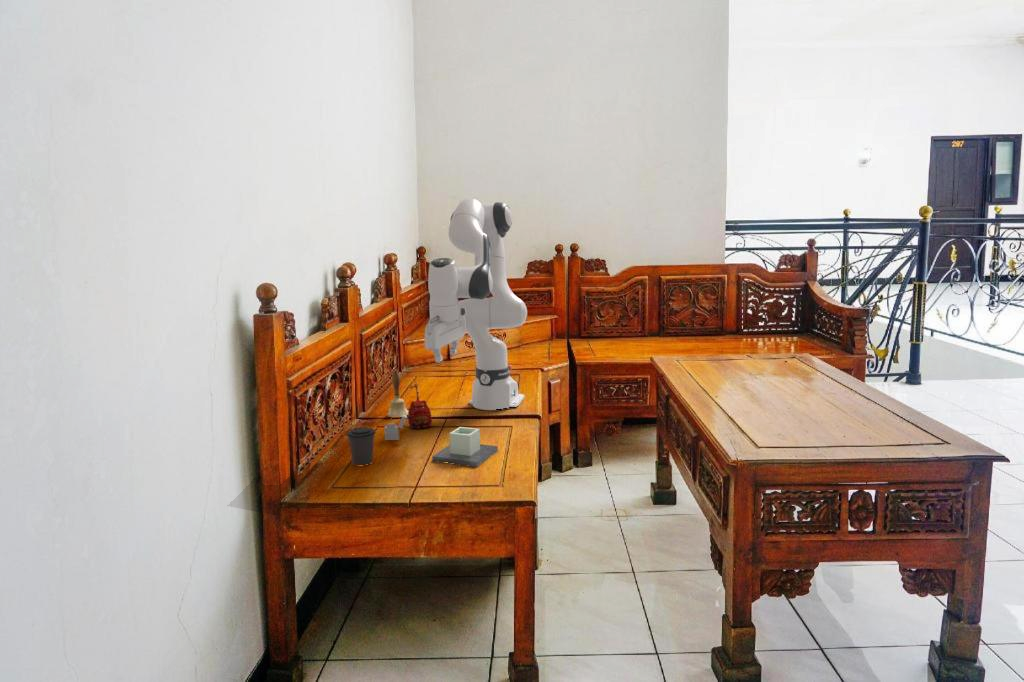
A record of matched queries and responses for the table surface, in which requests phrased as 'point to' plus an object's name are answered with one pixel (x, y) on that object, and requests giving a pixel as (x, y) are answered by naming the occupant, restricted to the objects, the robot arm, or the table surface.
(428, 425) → the red clay folk toy
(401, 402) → the hand bell
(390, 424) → the lighter
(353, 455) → the coffee cup
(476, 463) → the plate
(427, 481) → the table surface
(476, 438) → the sleeve
